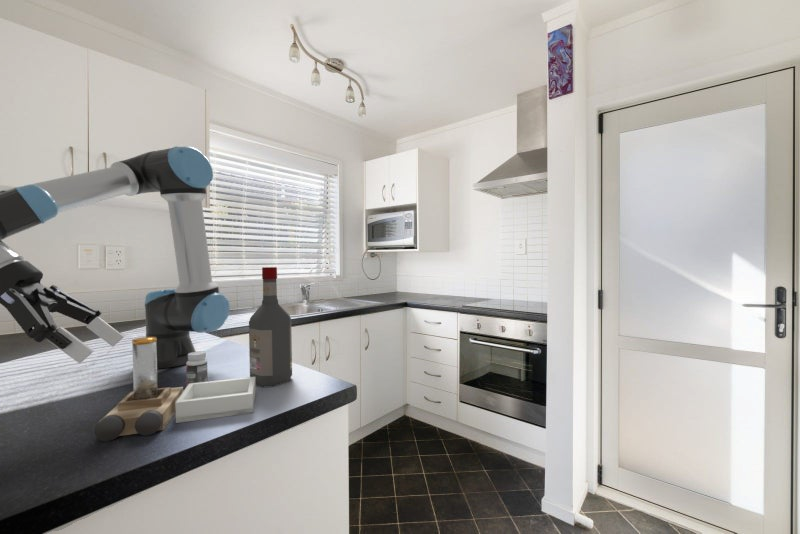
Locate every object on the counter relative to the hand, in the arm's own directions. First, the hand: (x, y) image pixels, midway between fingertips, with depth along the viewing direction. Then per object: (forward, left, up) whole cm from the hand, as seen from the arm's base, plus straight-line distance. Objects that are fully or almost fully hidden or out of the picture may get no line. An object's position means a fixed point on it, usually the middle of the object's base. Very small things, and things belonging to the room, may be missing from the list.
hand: (104, 348), depth 71 cm
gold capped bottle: (-1, +6, -12) cm, 13 cm away
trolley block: (-1, +6, -15) cm, 16 cm away
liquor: (-16, +30, -15) cm, 37 cm away
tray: (-1, +20, -15) cm, 25 cm away
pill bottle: (-19, +12, -15) cm, 27 cm away
